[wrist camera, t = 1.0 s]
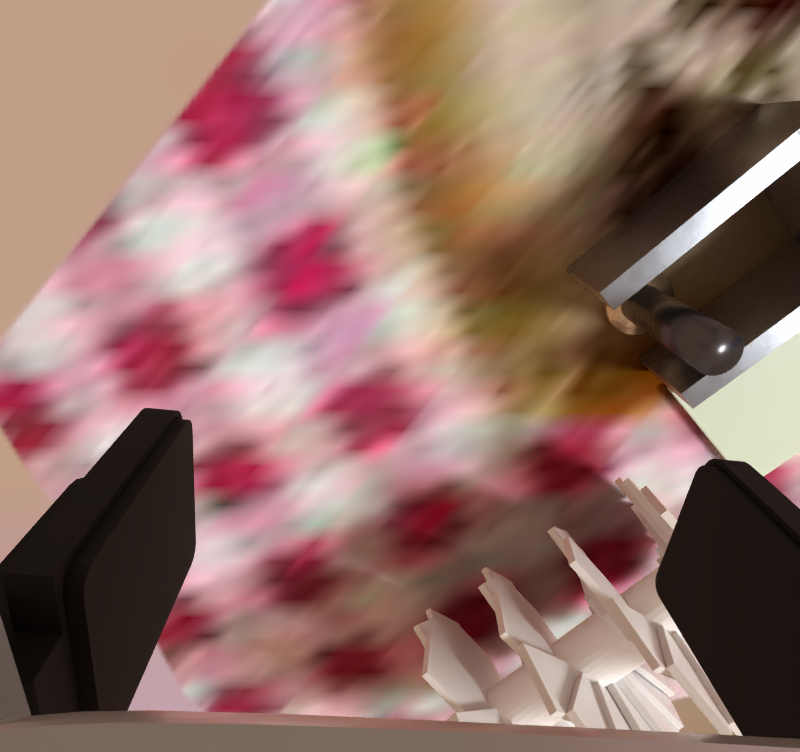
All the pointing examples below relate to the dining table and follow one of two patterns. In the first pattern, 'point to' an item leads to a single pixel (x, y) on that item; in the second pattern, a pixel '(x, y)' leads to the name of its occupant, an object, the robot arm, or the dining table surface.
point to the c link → (692, 221)
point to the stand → (678, 328)
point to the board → (756, 411)
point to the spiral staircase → (576, 652)
